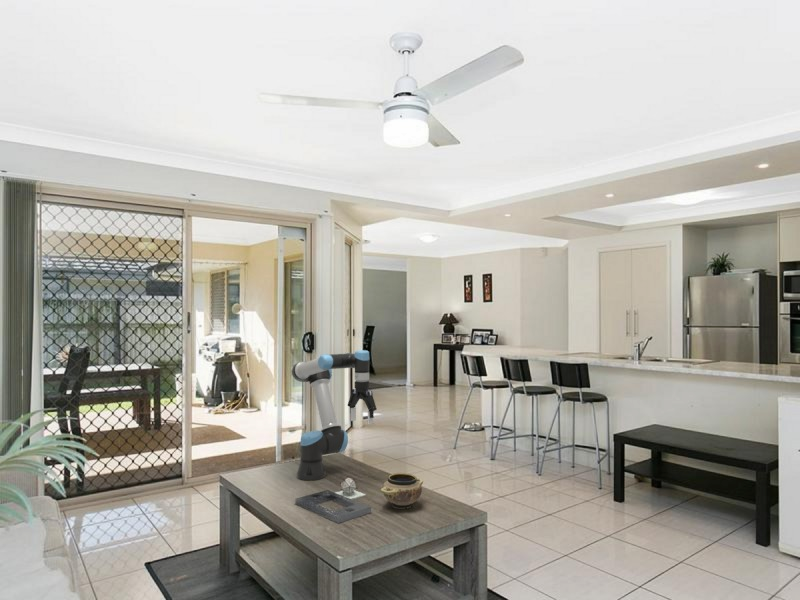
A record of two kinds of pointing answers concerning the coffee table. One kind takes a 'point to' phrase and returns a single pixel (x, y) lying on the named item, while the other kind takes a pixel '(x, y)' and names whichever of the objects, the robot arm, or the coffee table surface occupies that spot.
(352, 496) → the pale green flat panel
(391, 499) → the ceramic bowl
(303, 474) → the robot arm
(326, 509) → the dark grey rectangular frame
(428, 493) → the coffee table surface
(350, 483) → the game die
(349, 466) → the coffee table surface
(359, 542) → the coffee table surface
